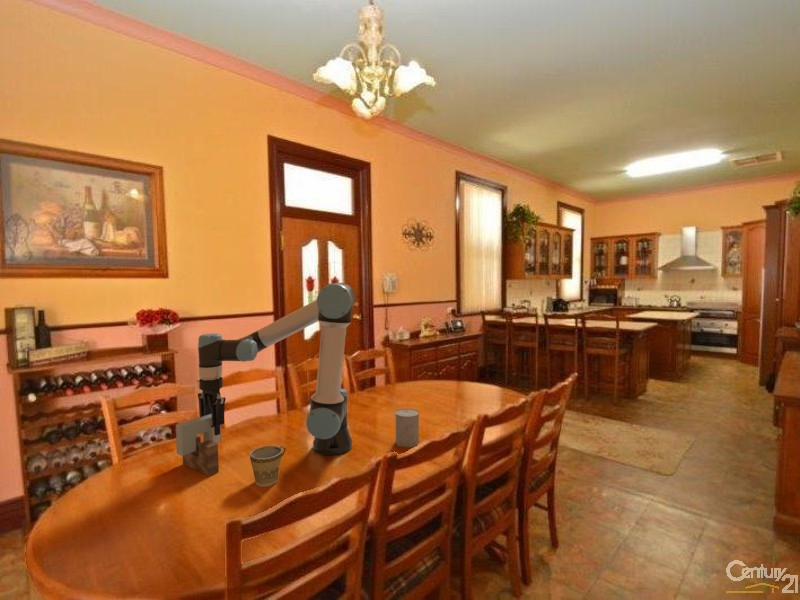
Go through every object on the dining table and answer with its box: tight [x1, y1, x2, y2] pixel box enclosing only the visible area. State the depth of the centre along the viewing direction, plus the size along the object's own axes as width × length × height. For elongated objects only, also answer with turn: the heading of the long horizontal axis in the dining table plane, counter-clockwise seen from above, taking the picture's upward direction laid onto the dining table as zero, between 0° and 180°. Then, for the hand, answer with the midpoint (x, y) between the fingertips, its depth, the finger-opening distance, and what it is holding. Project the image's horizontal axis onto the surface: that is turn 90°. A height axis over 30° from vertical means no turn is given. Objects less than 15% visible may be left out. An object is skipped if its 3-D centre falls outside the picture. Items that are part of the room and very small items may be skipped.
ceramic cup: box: [249, 445, 287, 488], centre depth 131 cm, size 13×10×10 cm
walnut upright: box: [182, 435, 220, 477], centre depth 139 cm, size 16×4×10 cm, turn 57°
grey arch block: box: [175, 414, 222, 457], centre depth 139 cm, size 4×14×10 cm, turn 147°
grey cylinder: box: [395, 408, 420, 448], centre depth 161 cm, size 10×10×12 cm
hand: (212, 441), depth 143 cm, fingers closed on grey arch block, 3 cm apart
